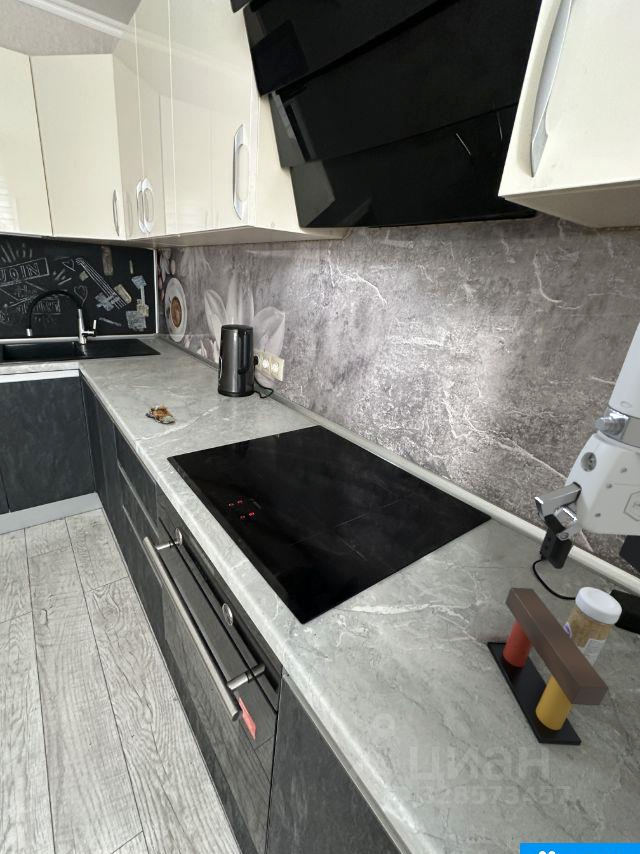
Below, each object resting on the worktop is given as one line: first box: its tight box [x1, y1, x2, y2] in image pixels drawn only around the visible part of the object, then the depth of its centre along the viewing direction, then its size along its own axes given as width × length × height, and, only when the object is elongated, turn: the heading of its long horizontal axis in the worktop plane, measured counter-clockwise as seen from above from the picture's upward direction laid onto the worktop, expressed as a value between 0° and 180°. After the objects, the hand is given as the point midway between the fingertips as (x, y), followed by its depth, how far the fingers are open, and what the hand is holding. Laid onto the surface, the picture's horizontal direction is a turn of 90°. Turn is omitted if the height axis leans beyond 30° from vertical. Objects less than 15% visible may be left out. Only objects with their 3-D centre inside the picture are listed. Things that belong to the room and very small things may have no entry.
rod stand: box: [486, 618, 582, 746], centre depth 51 cm, size 5×13×8 cm, turn 179°
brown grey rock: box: [145, 405, 176, 424], centre depth 133 cm, size 7×12×4 cm, turn 49°
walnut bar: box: [504, 587, 610, 707], centre depth 49 cm, size 14×3×3 cm, turn 179°
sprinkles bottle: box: [562, 586, 623, 666], centre depth 53 cm, size 5×5×13 cm
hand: (590, 562), depth 46 cm, fingers open, 9 cm apart
